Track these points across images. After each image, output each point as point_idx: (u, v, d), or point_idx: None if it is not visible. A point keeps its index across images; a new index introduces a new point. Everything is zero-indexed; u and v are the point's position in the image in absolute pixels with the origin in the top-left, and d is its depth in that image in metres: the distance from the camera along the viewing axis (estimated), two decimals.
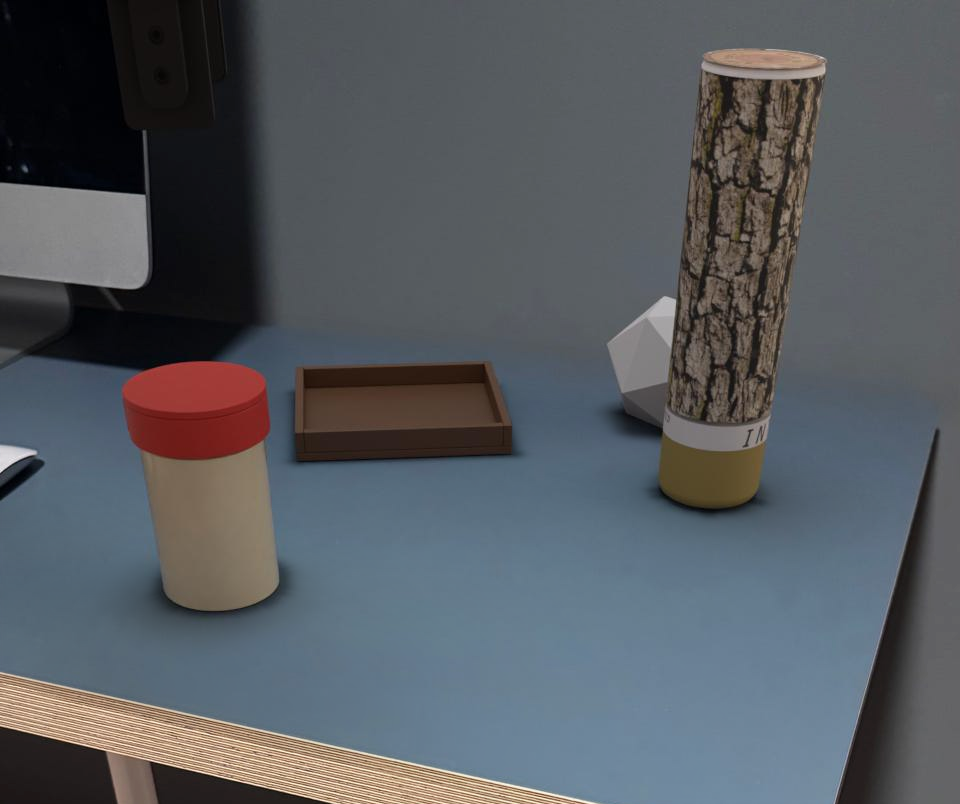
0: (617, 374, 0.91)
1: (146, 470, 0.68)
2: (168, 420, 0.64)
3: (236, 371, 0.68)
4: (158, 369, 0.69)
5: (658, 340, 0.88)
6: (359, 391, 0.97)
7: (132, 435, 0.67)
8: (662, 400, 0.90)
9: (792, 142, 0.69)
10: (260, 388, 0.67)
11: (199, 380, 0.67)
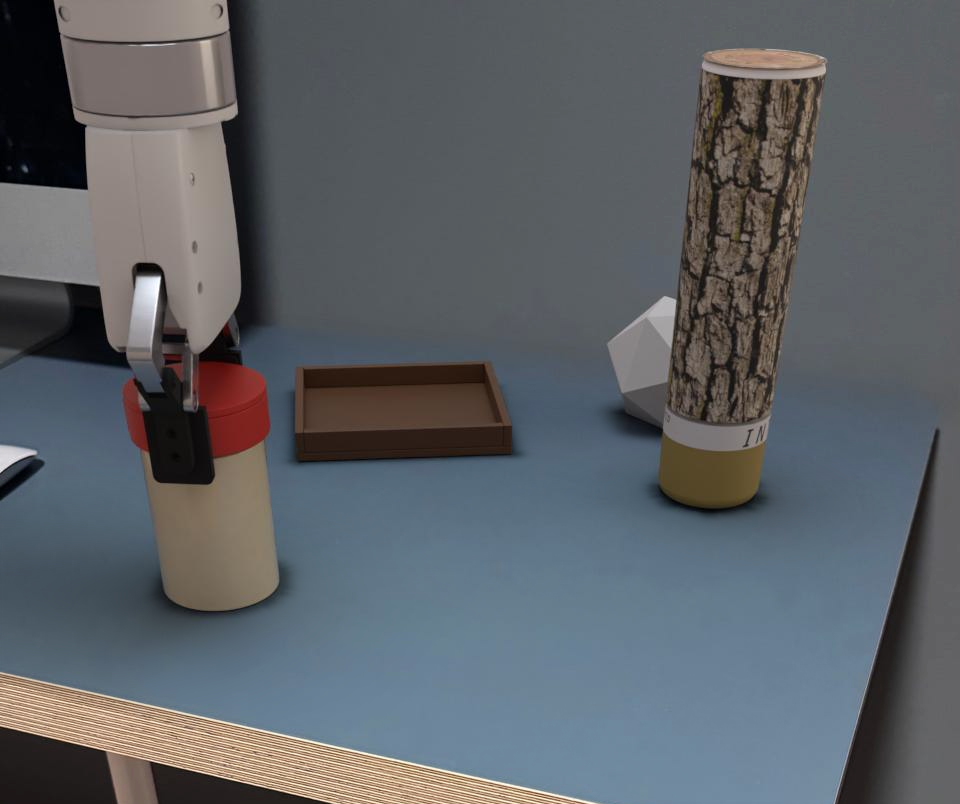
0: (617, 374, 0.91)
1: (146, 470, 0.68)
2: None
3: (236, 371, 0.68)
4: None
5: (658, 340, 0.88)
6: (359, 391, 0.97)
7: (132, 435, 0.67)
8: (662, 400, 0.90)
9: (792, 142, 0.69)
10: (260, 388, 0.67)
11: (199, 380, 0.67)
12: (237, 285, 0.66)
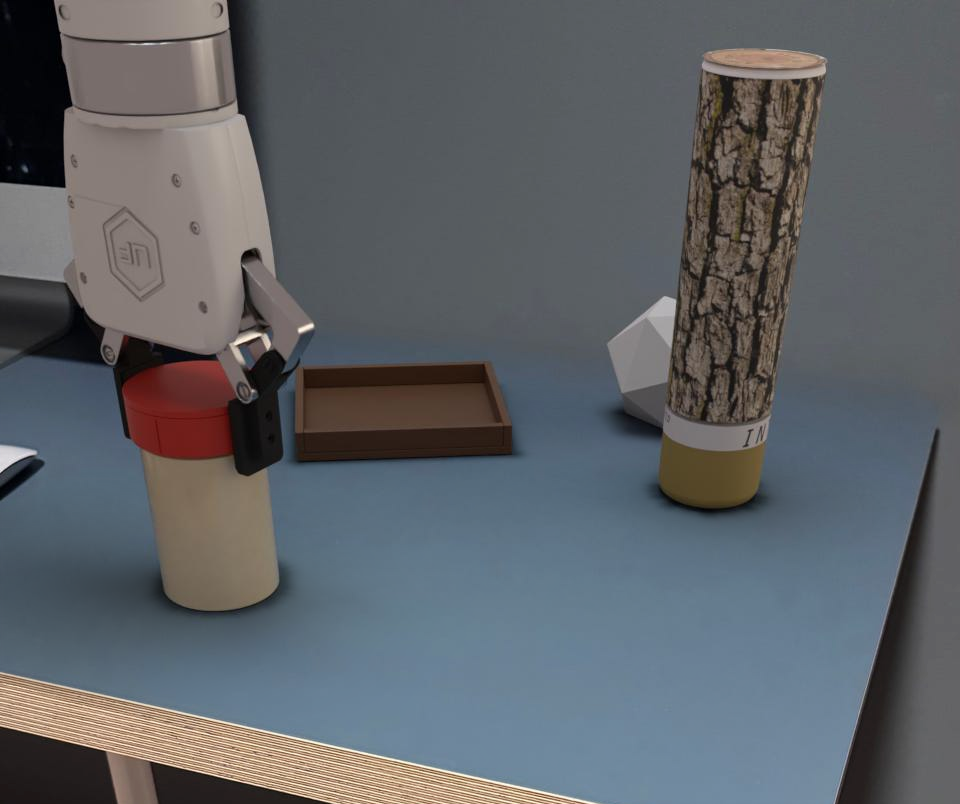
0: (617, 374, 0.91)
1: (146, 470, 0.68)
2: None
3: (187, 366, 0.69)
4: (131, 390, 0.66)
5: (658, 340, 0.88)
6: (359, 391, 0.97)
7: (188, 448, 0.65)
8: (662, 400, 0.90)
9: (792, 142, 0.69)
10: None
11: (185, 381, 0.67)
12: None
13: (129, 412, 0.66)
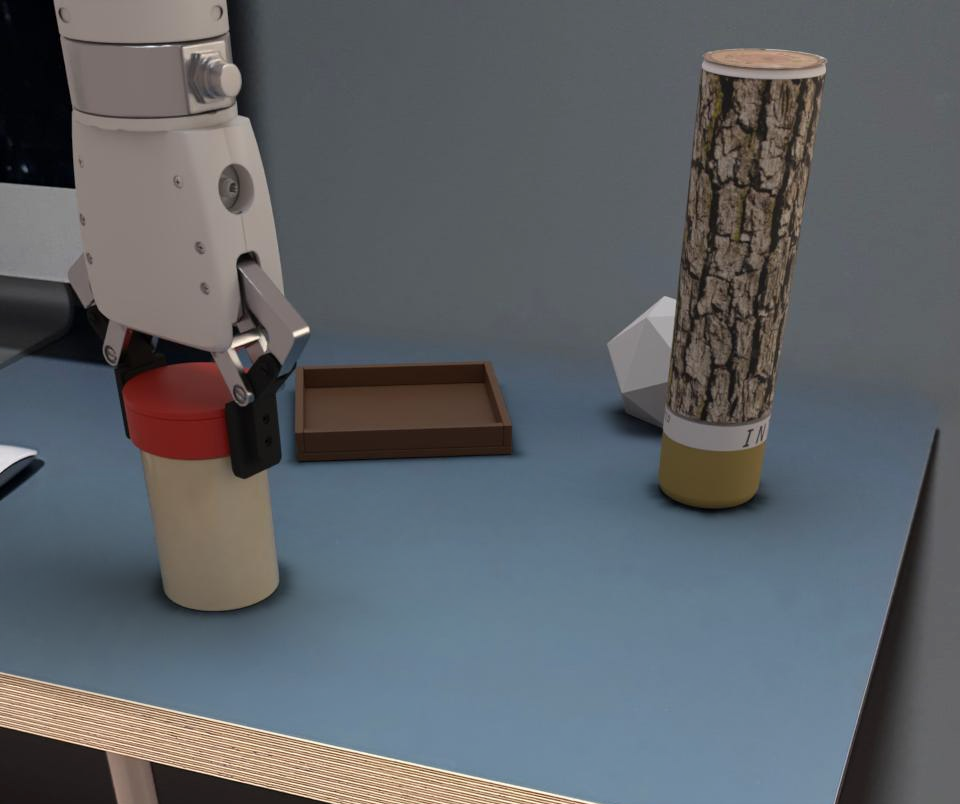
0: (617, 374, 0.91)
1: (146, 470, 0.68)
2: None
3: (199, 405, 0.65)
4: None
5: (658, 340, 0.88)
6: (359, 391, 0.97)
7: None
8: (662, 400, 0.90)
9: (792, 142, 0.69)
10: (142, 405, 0.65)
11: (203, 389, 0.66)
12: (197, 327, 0.61)
13: None
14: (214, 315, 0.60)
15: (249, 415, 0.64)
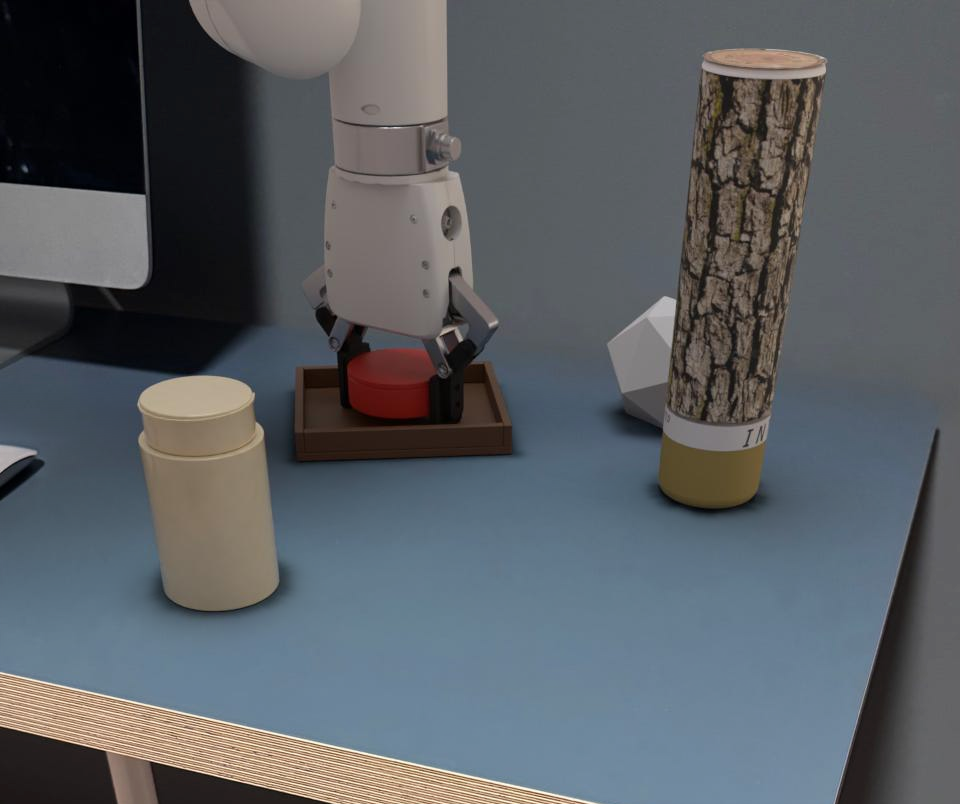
0: (617, 374, 0.91)
1: (146, 470, 0.68)
2: None
3: (409, 378, 0.89)
4: None
5: (658, 340, 0.88)
6: None
7: None
8: (662, 400, 0.90)
9: (792, 142, 0.69)
10: (368, 379, 0.89)
11: (407, 367, 0.91)
12: (416, 321, 0.85)
13: None
14: (431, 312, 0.84)
15: (446, 385, 0.88)
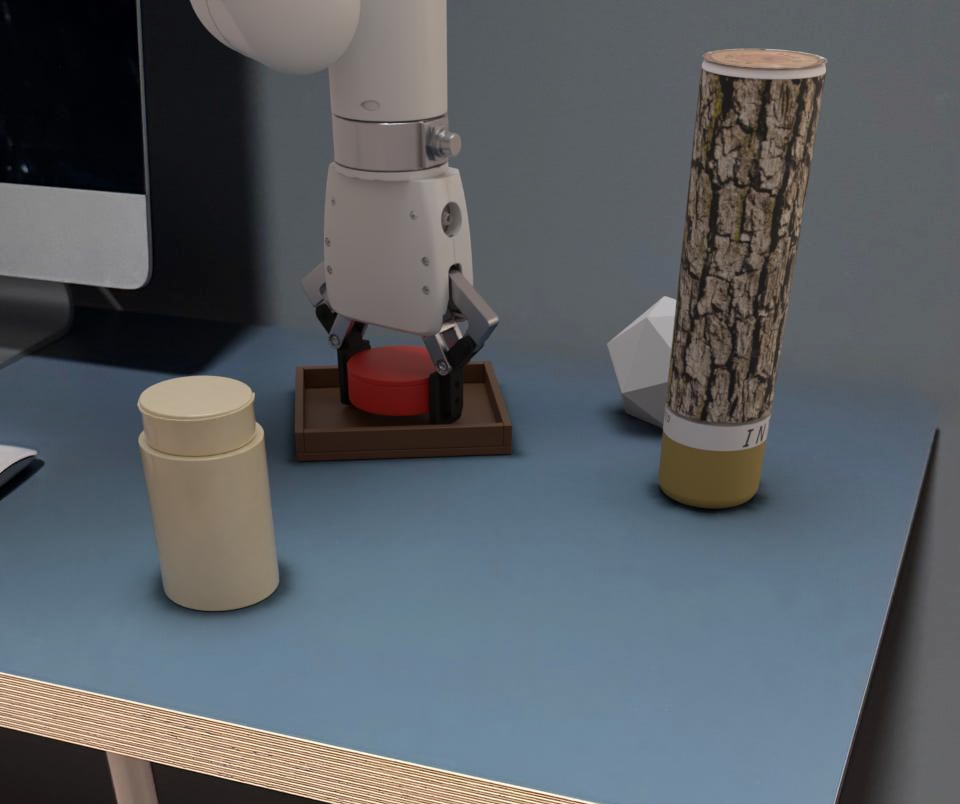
0: (617, 374, 0.91)
1: (146, 470, 0.68)
2: None
3: (409, 375, 0.89)
4: None
5: (658, 340, 0.88)
6: None
7: None
8: (662, 400, 0.90)
9: (792, 142, 0.69)
10: (367, 376, 0.89)
11: (406, 364, 0.90)
12: (416, 318, 0.85)
13: None
14: (431, 309, 0.84)
15: (446, 382, 0.88)
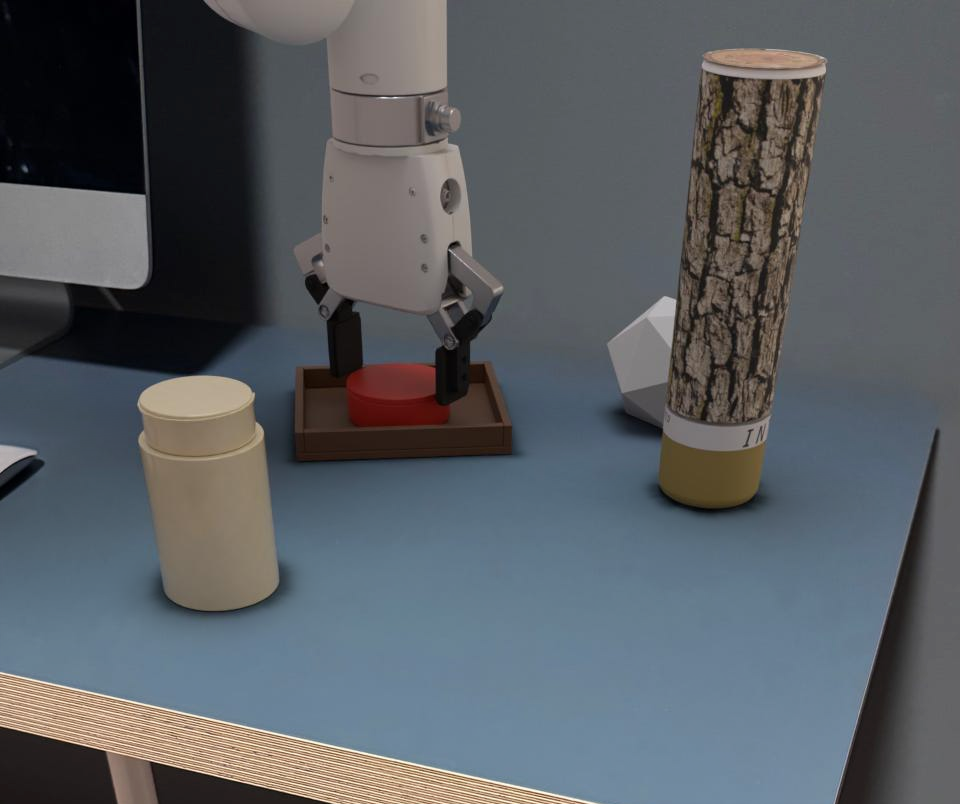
0: (617, 374, 0.91)
1: (146, 470, 0.68)
2: None
3: (408, 394, 0.89)
4: None
5: (658, 340, 0.88)
6: None
7: None
8: (662, 400, 0.90)
9: (792, 142, 0.69)
10: (367, 394, 0.89)
11: (405, 383, 0.91)
12: (414, 296, 0.84)
13: None
14: (429, 287, 0.83)
15: (453, 357, 0.87)
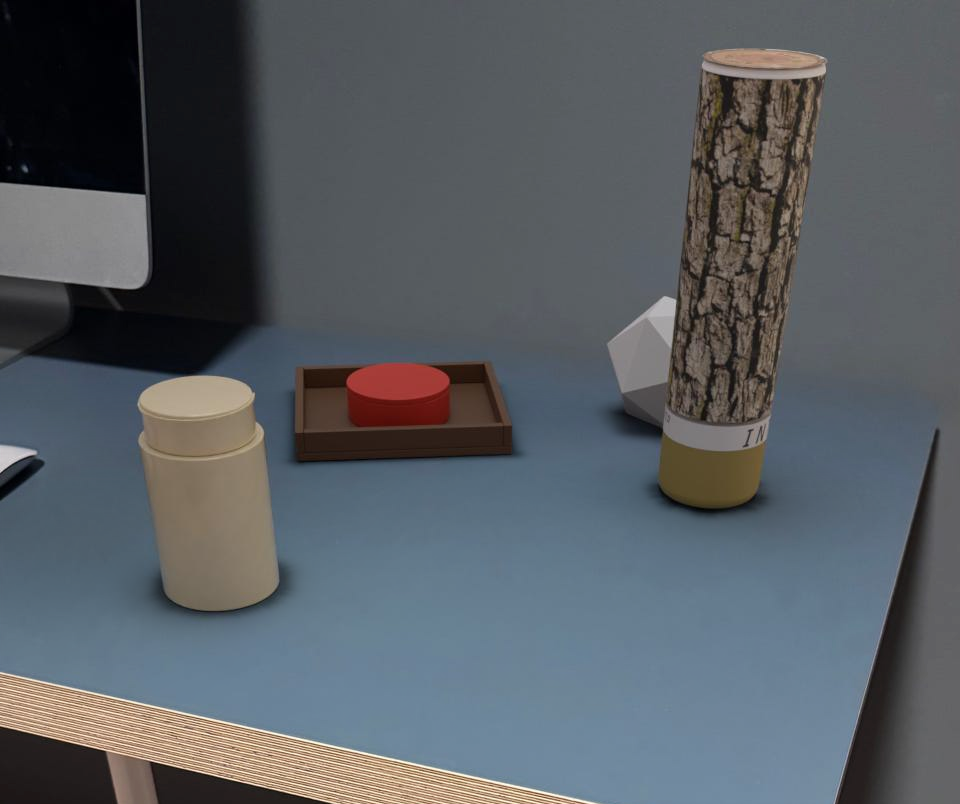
0: (617, 374, 0.91)
1: (146, 470, 0.68)
2: None
3: (408, 394, 0.89)
4: (441, 376, 0.92)
5: (658, 340, 0.88)
6: None
7: None
8: (662, 400, 0.90)
9: (792, 142, 0.69)
10: (367, 394, 0.89)
11: (405, 383, 0.91)
12: None
13: None
14: None
15: None
